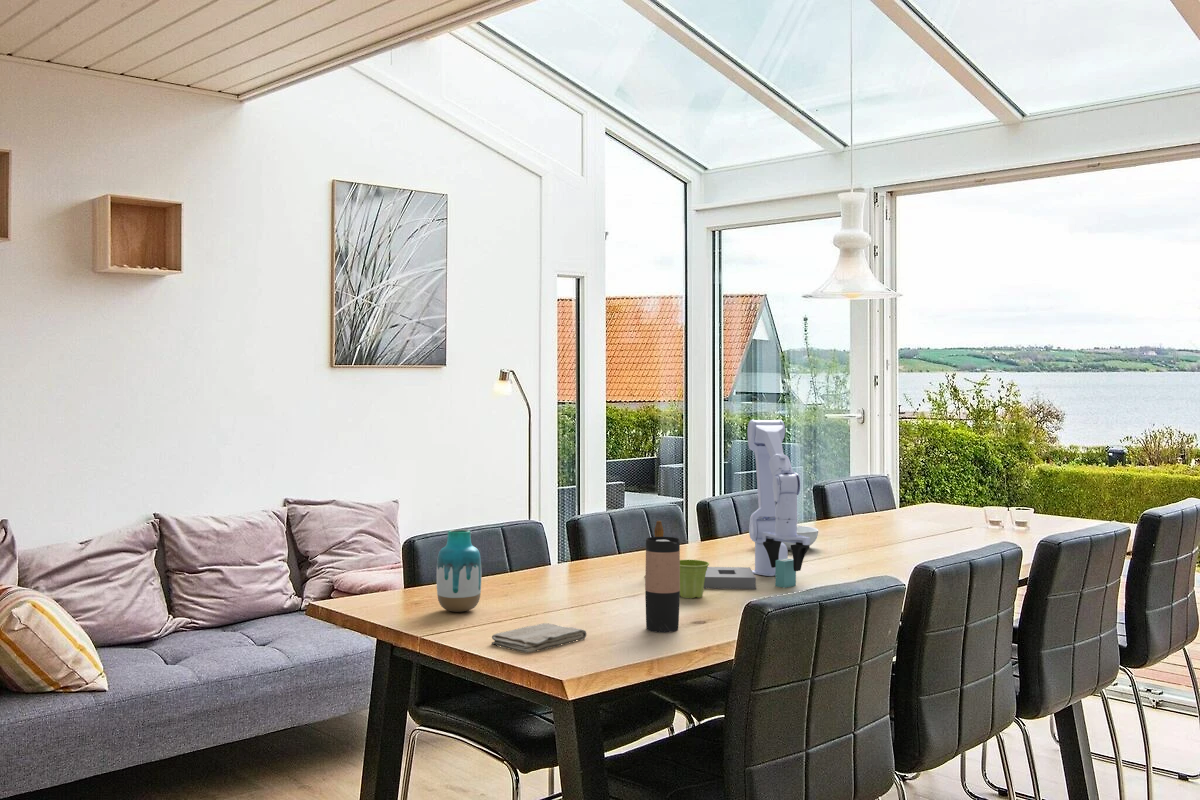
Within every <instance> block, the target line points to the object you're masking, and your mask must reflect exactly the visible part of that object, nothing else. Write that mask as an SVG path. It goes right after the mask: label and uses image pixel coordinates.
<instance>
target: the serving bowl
mask: <svg viewBox="0 0 1200 800" xmlns="http://www.w3.org/2000/svg"><path fill="white" fill-rule="evenodd" d="M818 534H819V528H816V527H812V526H806V525H798V524H797V535H801V536H805V537H810V545H809V547H810V546H812V545H813V544H814V543H815V542H816V541H817V539H818V536H819V535H818ZM785 540H788V539H785ZM783 543H784V544H785V545H786V547H787V550H792V549H791V545H794V544H796V543H789V542H783Z"/></svg>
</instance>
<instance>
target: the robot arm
mask: <svg viewBox="0 0 1200 800" xmlns="http://www.w3.org/2000/svg"><path fill="white" fill-rule="evenodd" d="M746 431H747V432H746V433H747V445H748V449H749V450H750V451H752V452H754V457H755V469H756V482H757V485H756V486H757V501H758V503H757V504H758V508H757V509H756V510H755V511H753V512H752V513H751V515H750V517H749V524H748V525H749V526H748V534H749V538H750V540H752V542H754V569H751V570H752V572H753V574H754V575H759V576H766V577H774V576H775V571H776V560H780V559H786V558H788V557H789V554H788V553H789V552H788V550H787V547H786V545H785V544H784V543H783V542H789V543H796V544H794V545H791V549H792V551H791V552H792V559H793V568H794V571H796V572H799V571H802V570H801V569H802V566H803V562H804V559H805V557H806V554H807V552H808V550H809V549H810V546H811V545H810V537H805V536H801V535H797V525H798V495H799V494H800V492H801V479H800V475H799V473H797V472H796V471H794V469H793V467H792V463H791V460H790V458H789V455H786V454H784V449H783V444H782V443H783V441H784V439H785V436H786V426H785V422H784V421H783V420H782V419H771V420H770V419H764V420H763V419H758V420H757V419H750V420H749V421H748V424H747V430H746ZM785 539H788V540H785ZM809 545H810V546H809ZM788 559H789V558H788Z"/></svg>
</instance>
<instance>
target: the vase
mask: <svg viewBox="0 0 1200 800" xmlns="http://www.w3.org/2000/svg"><path fill="white" fill-rule="evenodd" d="M471 533H472V532H471V530H468V529H449V530H448V531H447V540H446V544H445V546H444V547H441V549H440V550H439V551H438V554H437V559H436V596H437V599H438V603H439V605H440V606H441V607H442V608H443V609H444V610H447V611H449V612H453V613H454V612H456V613H461V612H467V611H471V610H473V609H475V608H476V607H477V605H478V604H479V602H480V598H481V593H482V560H481V559H482V558H481V557H482V556H481V553H480V551H479V549H478V548H477V547H475V546H474V545H473V544H472V537H471V535H472V534H471Z"/></svg>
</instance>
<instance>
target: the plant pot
mask: <svg viewBox="0 0 1200 800" xmlns="http://www.w3.org/2000/svg"><path fill="white" fill-rule="evenodd" d="M709 566H710V562H709V561H705V560H700V559H680V597H681V598H684V599H694V598H700V599H701V598H702V597H703V593H704V589H705V588H704V581H705V575H706V571H707V567H709Z"/></svg>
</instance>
